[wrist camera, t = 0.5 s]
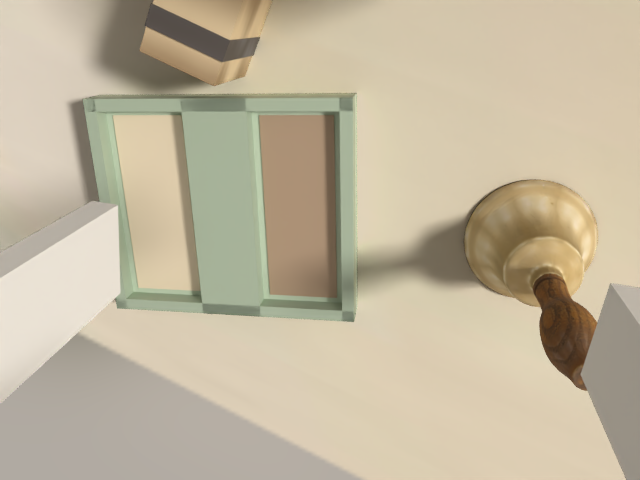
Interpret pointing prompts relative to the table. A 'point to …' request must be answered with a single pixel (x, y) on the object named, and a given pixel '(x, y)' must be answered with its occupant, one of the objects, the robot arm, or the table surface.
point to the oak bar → (205, 36)
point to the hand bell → (539, 261)
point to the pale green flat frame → (232, 201)
